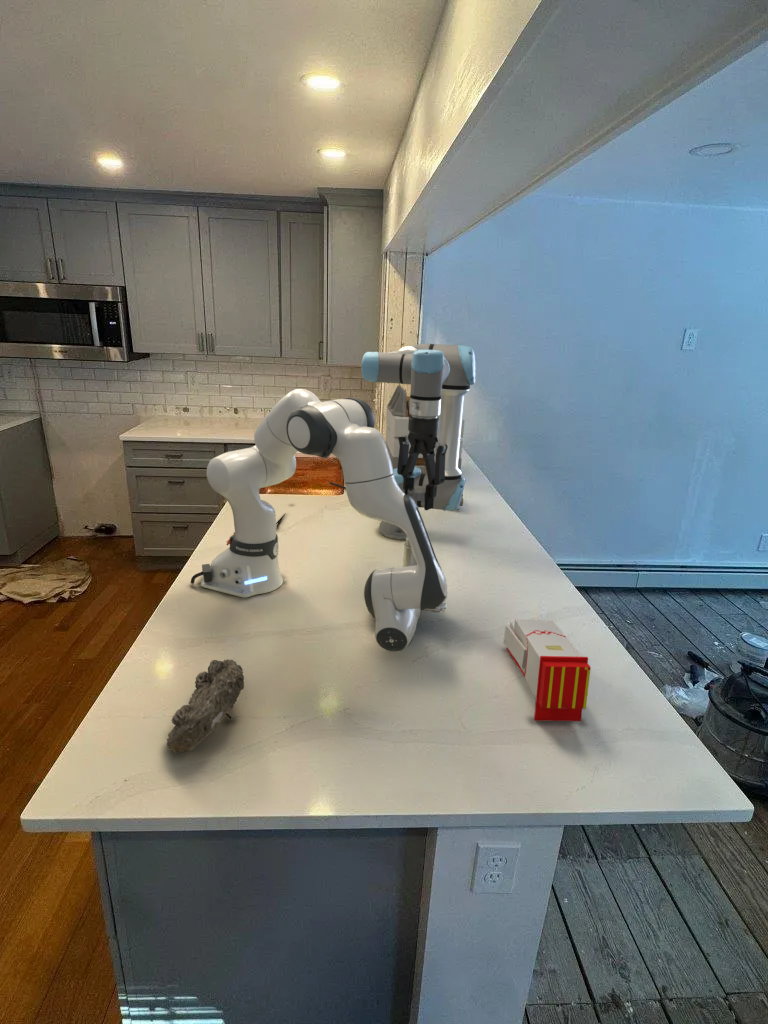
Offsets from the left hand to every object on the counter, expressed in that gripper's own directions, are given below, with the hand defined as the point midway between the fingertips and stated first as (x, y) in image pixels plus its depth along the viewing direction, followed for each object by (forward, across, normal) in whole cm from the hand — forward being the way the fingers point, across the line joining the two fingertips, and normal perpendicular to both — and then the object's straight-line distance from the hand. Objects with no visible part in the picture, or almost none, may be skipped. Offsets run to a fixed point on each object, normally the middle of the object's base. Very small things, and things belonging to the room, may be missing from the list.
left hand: (411, 581), depth 152 cm
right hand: (+1, 0, -21) cm, 21 cm away
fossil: (-55, +30, +6) cm, 63 cm away
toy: (-27, -32, +6) cm, 42 cm away
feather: (+51, +56, +6) cm, 76 cm away
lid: (+1, 0, -25) cm, 25 cm away
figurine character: (+84, -4, +6) cm, 84 cm away
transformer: (+128, +15, +6) cm, 129 cm away
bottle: (-1, 0, +6) cm, 6 cm away
